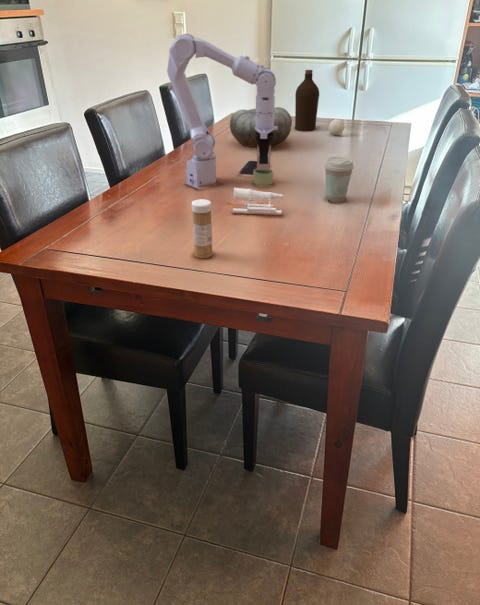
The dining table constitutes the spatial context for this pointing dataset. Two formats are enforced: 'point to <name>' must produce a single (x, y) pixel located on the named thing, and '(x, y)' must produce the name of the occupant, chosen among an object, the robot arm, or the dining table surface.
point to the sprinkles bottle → (202, 228)
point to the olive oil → (306, 104)
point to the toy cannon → (260, 209)
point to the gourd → (245, 126)
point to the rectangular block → (263, 160)
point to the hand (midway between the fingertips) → (263, 156)
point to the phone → (249, 168)
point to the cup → (263, 177)
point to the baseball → (336, 127)
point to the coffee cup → (337, 178)
